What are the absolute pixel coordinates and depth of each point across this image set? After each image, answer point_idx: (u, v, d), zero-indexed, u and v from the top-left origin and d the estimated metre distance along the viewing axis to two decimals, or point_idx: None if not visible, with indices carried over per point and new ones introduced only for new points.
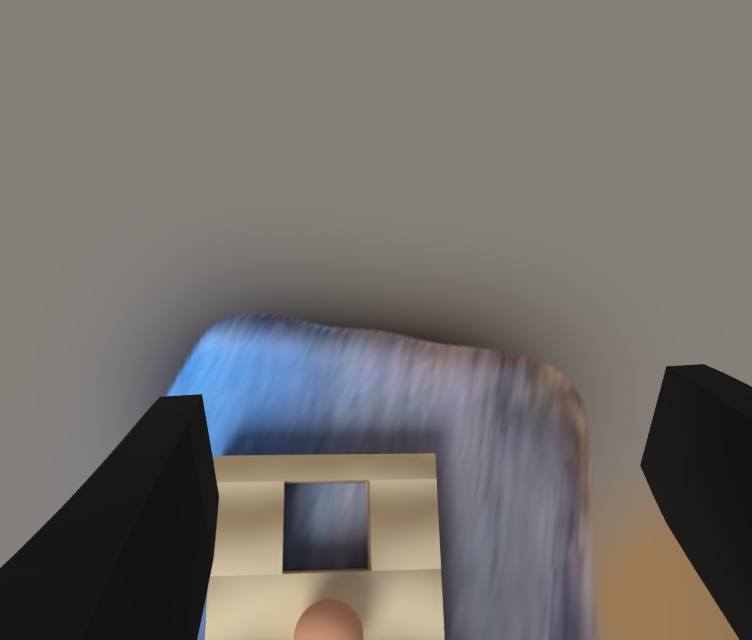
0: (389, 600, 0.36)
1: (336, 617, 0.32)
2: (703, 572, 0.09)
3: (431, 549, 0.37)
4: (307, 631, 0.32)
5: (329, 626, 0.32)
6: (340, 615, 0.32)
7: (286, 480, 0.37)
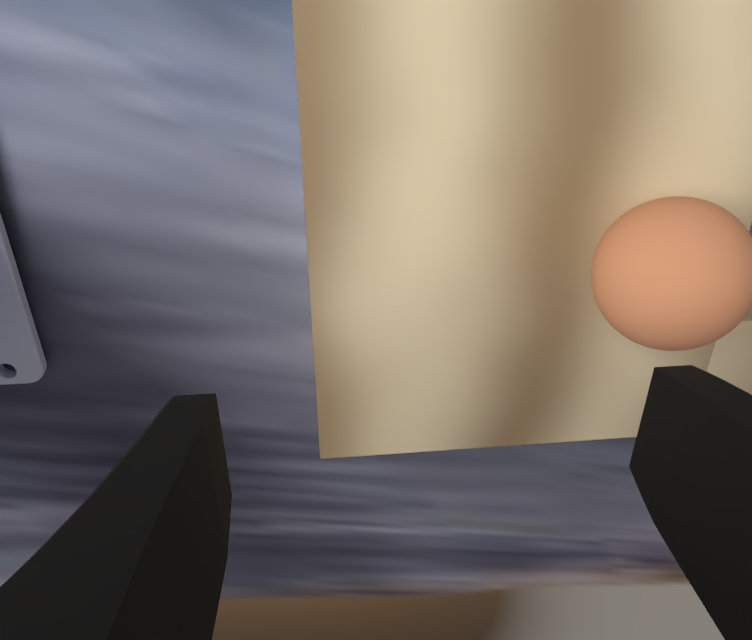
0: (661, 353, 0.18)
1: (747, 312, 0.14)
2: (690, 573, 0.09)
3: None
4: (737, 250, 0.13)
5: (743, 303, 0.14)
6: (744, 317, 0.14)
7: None
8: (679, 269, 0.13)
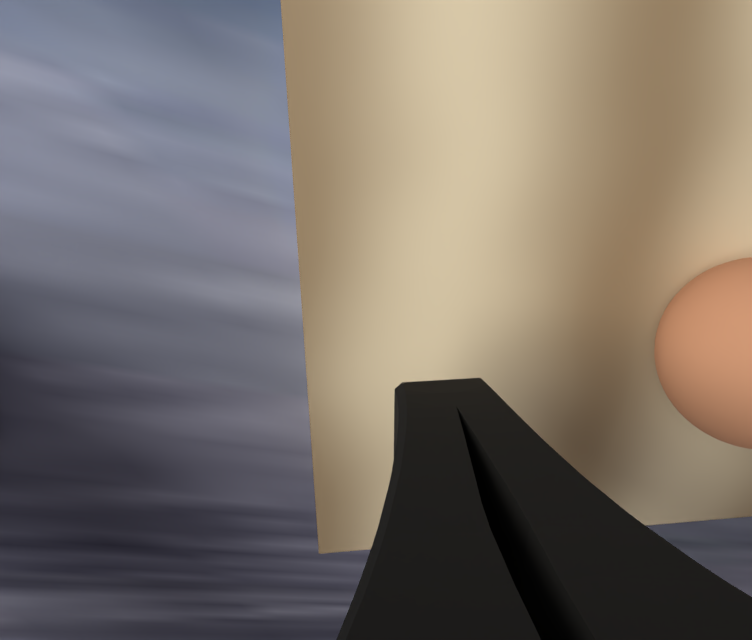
0: None
1: None
2: None
3: None
4: None
5: None
6: None
7: None
8: None
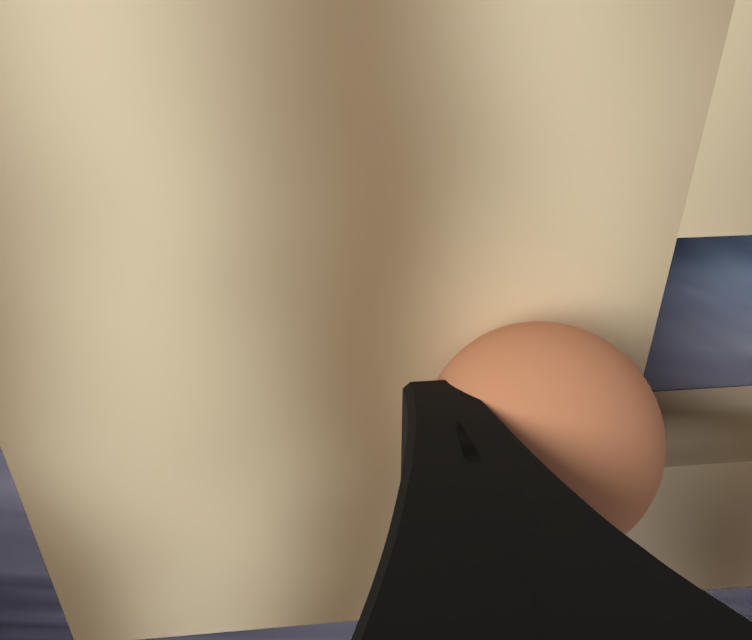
0: None
1: None
2: None
3: None
4: (635, 422, 0.08)
5: (650, 496, 0.09)
6: None
7: None
8: (556, 467, 0.08)
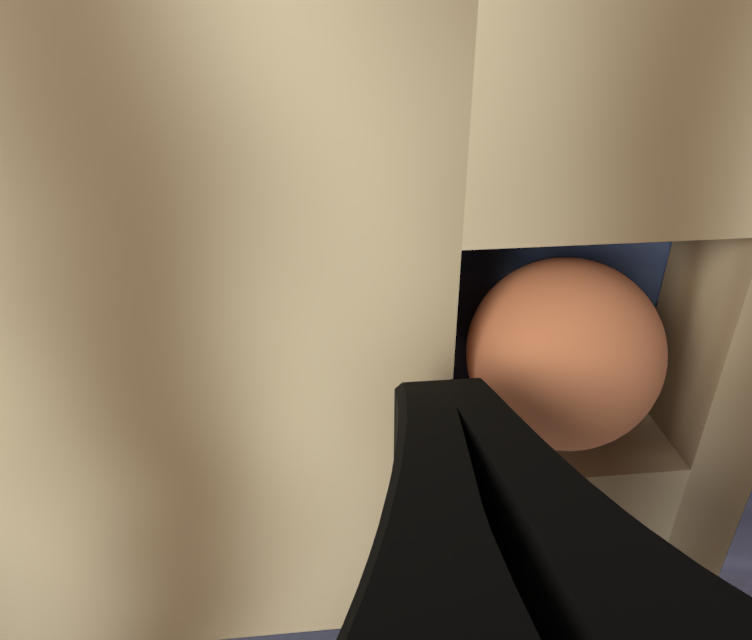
0: (365, 528, 0.13)
1: None
2: None
3: None
4: None
5: None
6: None
7: None
8: None
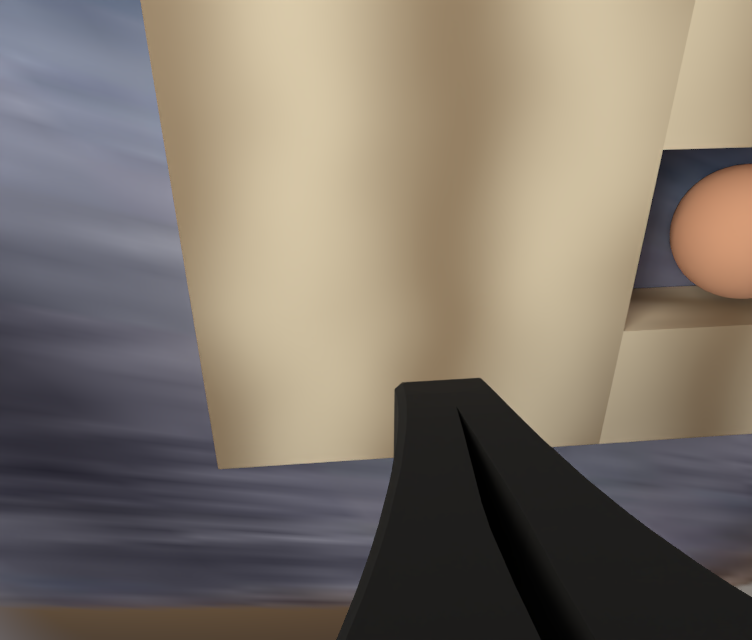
0: (563, 363, 0.18)
1: None
2: None
3: (635, 427, 0.19)
4: None
5: None
6: None
7: None
8: None
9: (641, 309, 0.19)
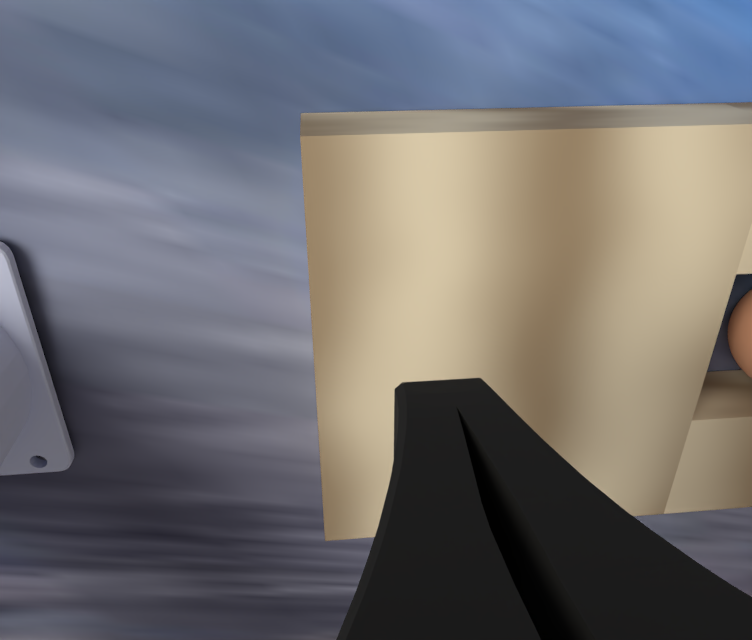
0: (637, 447, 0.20)
1: None
2: None
3: (696, 500, 0.21)
4: None
5: None
6: None
7: None
8: None
9: (704, 396, 0.21)
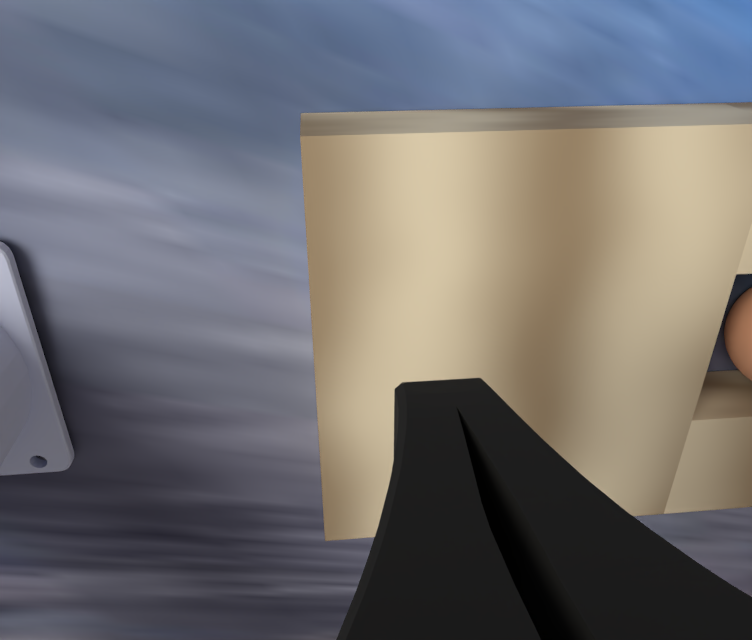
0: (637, 447, 0.20)
1: None
2: None
3: (696, 500, 0.21)
4: None
5: None
6: None
7: None
8: None
9: (704, 396, 0.21)
